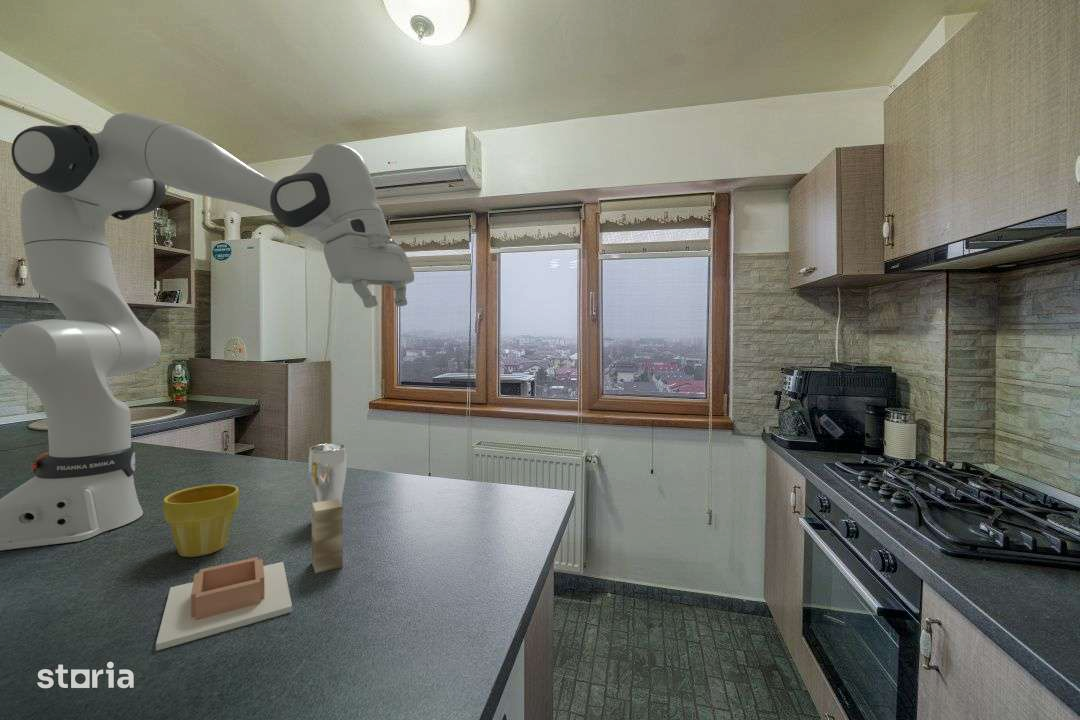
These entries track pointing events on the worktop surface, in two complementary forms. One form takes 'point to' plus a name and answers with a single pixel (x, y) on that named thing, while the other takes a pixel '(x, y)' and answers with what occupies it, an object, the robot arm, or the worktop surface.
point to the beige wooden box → (327, 535)
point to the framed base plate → (224, 601)
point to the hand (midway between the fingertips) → (387, 306)
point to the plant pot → (201, 517)
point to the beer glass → (327, 471)
